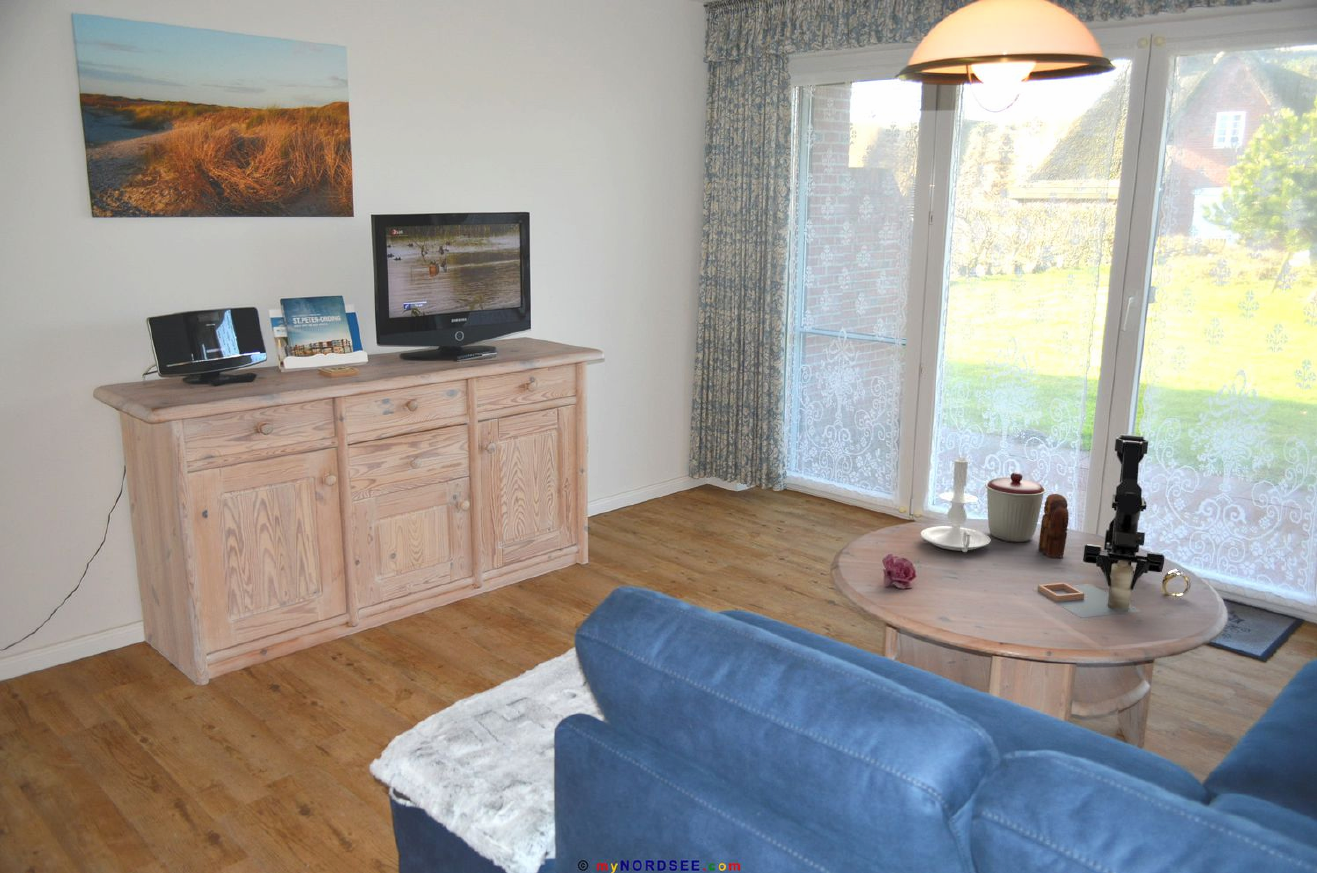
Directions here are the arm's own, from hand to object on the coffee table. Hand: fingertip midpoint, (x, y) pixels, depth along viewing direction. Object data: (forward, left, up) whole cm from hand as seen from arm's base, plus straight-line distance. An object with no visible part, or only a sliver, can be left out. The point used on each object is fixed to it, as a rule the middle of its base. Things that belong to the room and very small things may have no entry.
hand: (1120, 587), depth 253 cm
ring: (-5, +22, -7) cm, 24 cm away
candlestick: (-55, -13, -7) cm, 57 cm away
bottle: (-1, +1, -6) cm, 6 cm away
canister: (-61, +10, -7) cm, 62 cm away
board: (-7, -4, -7) cm, 11 cm away
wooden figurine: (-45, +13, -7) cm, 47 cm away
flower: (-31, -45, -7) cm, 55 cm away
